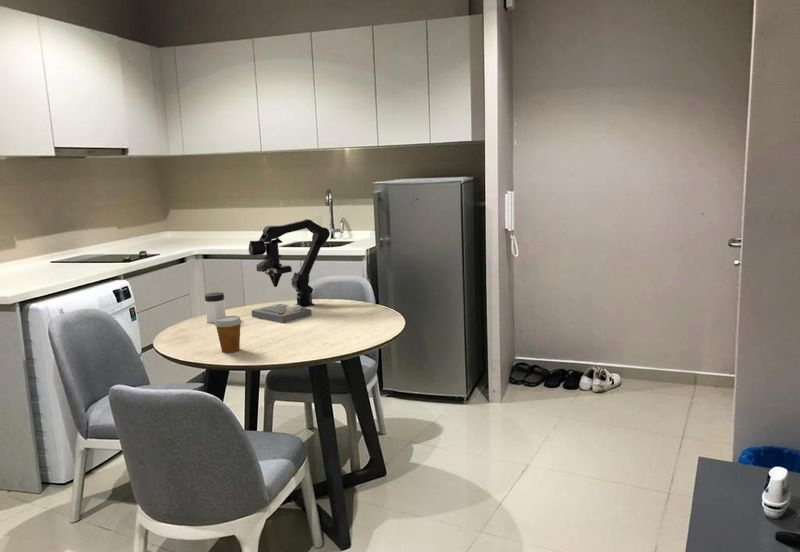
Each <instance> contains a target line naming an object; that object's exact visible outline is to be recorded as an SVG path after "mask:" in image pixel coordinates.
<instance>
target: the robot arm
mask: <svg viewBox="0 0 800 552" xmlns="http://www.w3.org/2000/svg"><path fill="white" fill-rule="evenodd" d="M306 229H307V230H308V231H309V233H312V235H311V236H312V237H311V245H310V247H309V249H308V251H307V254H306V257H305V258H304V261H303V262H302V266H301V268H300V270H299V271H298V272H294V273H293V275H292V278H291V280H290V281H291V287H292V288H293V289H294V290H295V291H296V292H297V293H296V304H295V305H300V307H301V308H307V307H309V306H313V305H315V303H314V302H313V298H312V294H313V290H314V288H313V287H312V286H311V285H309V282H310V274H311V271H312V269H313V266H314V264H315V261H316V260H317V257H318V255H319V253H320V251H321V248H322V247H323V246H324V244H325V243H326V242H327V241H328V239H329V238H330V236H331V233H330V230H329V228H327V227H324V226H321V225H319V224H318V223H316V222H314V221H313V220H312V219H307V218H306V219H303V220H300V221H299V220H298V221H295V222H291V223H286V224H283V225H267V226H264V228H263V230H262V234H261V236H260V237H259V239H258V240H249V244H248V254H249V256H250V257H253V256H254V257H255V256H262V255H263V256H264V254H265V256H264V257H263V258H264V259H263V260H262V261H260V262H259V263H258V264H256V272H259V273H260V272H261V273H264V274H265V275H268V276H269V278H270V281H271V283H272V285H273V287H275V288H277V287H278V285H279V282H280V280H281V277H282V276H283V274H287V273H291V272H293V267H292V266H291V265H286V264H285V265H283V263H281V262H280V258H281V257H282V255H281V254H280V250H279V244H282V243H283V241H282V239H280V237H282V236H284V235H285V234H289V233H293V232H297V231H301V230H306Z"/></svg>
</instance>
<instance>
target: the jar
mask: <svg viewBox="0 0 800 552" xmlns="http://www.w3.org/2000/svg"><path fill="white" fill-rule="evenodd" d="M204 301H205V302H204V303H205V312H206V315H205V316H206V322H207V323H209V324H210V323H211V324H215V321H216V319H217V318H220V317H224V316H227V315H226V306H225V304H226V303H225V293H224V292H221V291H218V292H217V291H216V292H208V293H205V294H204Z"/></svg>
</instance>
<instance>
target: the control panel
mask: <svg viewBox="0 0 800 552" xmlns="http://www.w3.org/2000/svg"><path fill="white" fill-rule="evenodd" d="M277 305H286V306H289V304H283V303H278V304H273V305H269V306H266V307H265V306H264V307H261V308H257V309H252V310H251V317H252V318H253V319H254V318H256V319H259V320H266V321H270V322H275V323H280V324H285V323H290V322H293V321H296V320H302V319H305V318H309V317H312V309H311V308H308V307H302V306H300V308H301V310H297V311H293V312H292V311H286V312H284V313H276V309H275V308H273V306H277Z"/></svg>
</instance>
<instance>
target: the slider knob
mask: <svg viewBox="0 0 800 552" xmlns="http://www.w3.org/2000/svg"><path fill="white" fill-rule="evenodd" d="M276 305H277V304H276ZM286 305H287V304H284V305H277V306H276V313H284V312H286Z"/></svg>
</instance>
